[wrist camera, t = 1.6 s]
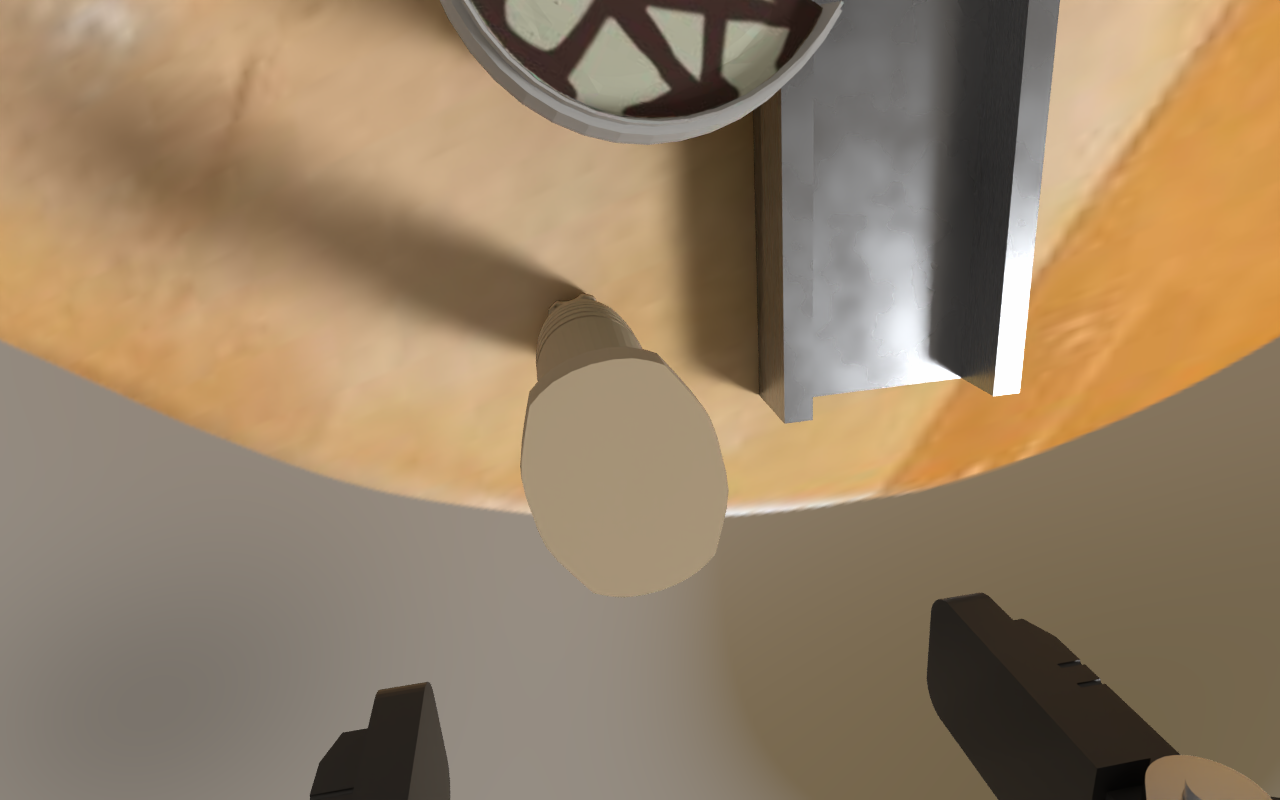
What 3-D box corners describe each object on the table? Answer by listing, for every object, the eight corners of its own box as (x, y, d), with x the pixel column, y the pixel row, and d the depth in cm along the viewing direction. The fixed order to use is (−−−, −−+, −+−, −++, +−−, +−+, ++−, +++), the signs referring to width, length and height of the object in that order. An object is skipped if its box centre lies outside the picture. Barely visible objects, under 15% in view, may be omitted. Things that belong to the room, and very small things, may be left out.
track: (747, -121, 28) (778, -153, 25) (1014, -133, 29) (1077, -165, 26) (759, 395, 35) (784, 423, 32) (974, 368, 36) (1019, 392, 33)
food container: (385, 41, 28) (322, 2, 19) (450, -134, 27) (417, -270, 17) (681, 192, 32) (751, 223, 22) (753, 45, 30) (860, 12, 21)
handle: (546, 413, 34) (570, 619, 20) (499, 273, 32) (489, 395, 18) (652, 381, 34) (748, 562, 20) (613, 239, 32) (691, 333, 18)
